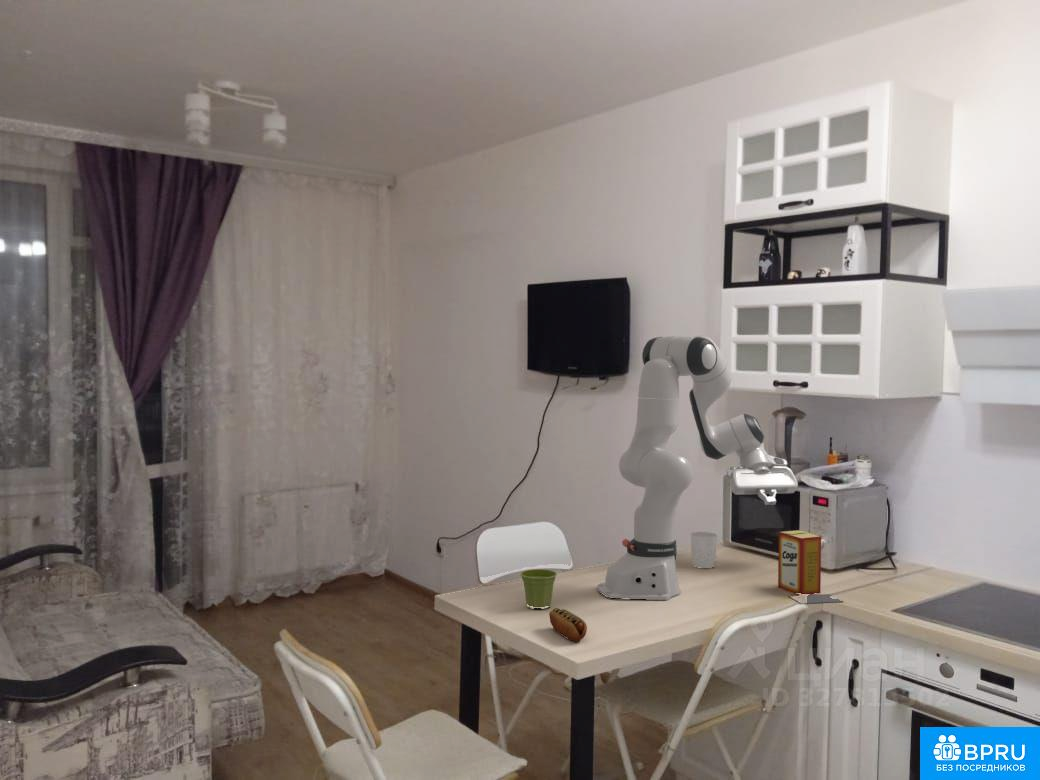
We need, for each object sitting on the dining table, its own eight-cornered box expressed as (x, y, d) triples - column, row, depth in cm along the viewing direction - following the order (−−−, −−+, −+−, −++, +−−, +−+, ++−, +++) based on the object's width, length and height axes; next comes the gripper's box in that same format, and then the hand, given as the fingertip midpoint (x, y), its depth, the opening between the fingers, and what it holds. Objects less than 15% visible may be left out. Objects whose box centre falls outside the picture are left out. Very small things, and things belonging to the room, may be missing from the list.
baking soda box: (820, 593, 226) (821, 535, 226) (801, 596, 224) (801, 537, 224) (797, 585, 235) (797, 528, 235) (778, 587, 233) (778, 530, 232)
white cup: (714, 563, 260) (715, 532, 260) (718, 569, 252) (718, 537, 252) (689, 563, 261) (689, 531, 261) (691, 569, 253) (692, 536, 253)
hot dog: (565, 625, 198) (565, 605, 198) (592, 642, 186) (592, 620, 186) (546, 628, 196) (546, 607, 196) (572, 645, 184) (572, 623, 184)
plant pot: (512, 606, 214) (512, 572, 214) (540, 599, 220) (540, 567, 220) (536, 614, 207) (536, 579, 207) (564, 607, 213) (564, 573, 213)
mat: (800, 604, 216) (800, 603, 216) (787, 596, 223) (787, 595, 223) (843, 602, 218) (843, 601, 218) (829, 594, 225) (829, 594, 225)
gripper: (727, 461, 252) (741, 498, 242) (791, 459, 255) (806, 496, 246) (722, 473, 256) (734, 510, 247) (784, 472, 260) (799, 508, 250)
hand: (771, 503), depth 246 cm, fingers closed
